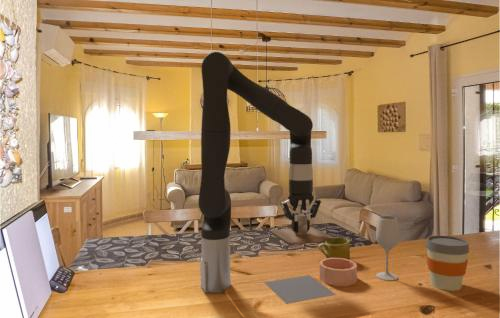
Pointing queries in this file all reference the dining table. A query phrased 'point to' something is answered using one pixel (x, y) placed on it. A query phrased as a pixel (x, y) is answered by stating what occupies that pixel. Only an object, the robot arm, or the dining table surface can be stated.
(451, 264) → the reusable coffee cup
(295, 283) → the mat
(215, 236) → the robot arm
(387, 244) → the wineglass
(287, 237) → the lid
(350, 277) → the bowl
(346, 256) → the mug
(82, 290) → the dining table surface
